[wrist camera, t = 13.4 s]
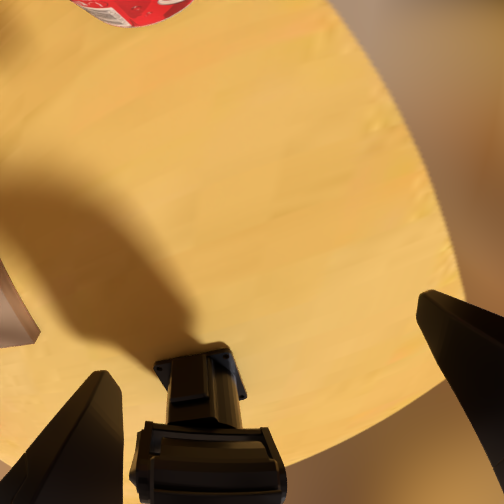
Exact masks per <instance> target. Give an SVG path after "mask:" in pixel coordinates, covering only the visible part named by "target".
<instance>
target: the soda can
mask: <svg viewBox="0 0 504 504" xmlns="http://www.w3.org/2000/svg"><path fill="white" fill-rule="evenodd" d="M70 1H72V2H73V3H75V4H76V5H78V6H79V7H81V8H83V9H84V10H86V11H87V12H89V13H90V14H92V15H93V16H95V17H96V18H98V19H99V20H101V21H103V22H105V23H107V24H110V25H113V26H117V27H123V28H133V27H144V26H149V25H153V24H156V23H159V22H162V21H164V20H166V19H169V18H171V17H172V16H174V15H176V14H177V13H179V12H181V11H182V10H184V9H185V8H186V7H188V6H189V5H190V4H191V3H192V2H193V1H194V0H70Z"/></svg>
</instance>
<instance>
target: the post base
mask: <svg viewBox="0 0 504 504" xmlns="http://www.w3.org/2000/svg"><path fill="white" fill-rule="evenodd" d="M39 334H40V330H39V328H38V327H37V325H36V324H35V322H34V320H33V319H32V317H31V315H30V314H29V312H28V310H27V309H26V307H25V305H24V304H23V302H22V300H21V298H20V296H19V295H18V293H17V291H16V289H15V287H14V285H13V283H12V282H11V280H10V278H9V276H8V274H7V272H6V270H5V268H4V266H3V264H2V261H1V259H0V348H6V347H14V346H21V345H29V344H35V342H36V340H37V338H38V336H39Z"/></svg>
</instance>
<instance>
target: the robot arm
mask: <svg viewBox="0 0 504 504" xmlns="http://www.w3.org/2000/svg"><path fill="white" fill-rule="evenodd" d="M416 319H417V323H418V325H419V327H420V329H421V331H422V333H423V335H424V337H425V339H426V341H427V343H428V345H429V347H430V350H431V352H432V354H433V356H434V358H435V360H436V362H437V364H438V366H439V367H440V369H441V371H442V373H443V374H444V376H445V378H446V379H447V381H448V383H449V384H450V386H451V388H452V390H453V391H454V393H455V395H456V397H457V398H458V400H459V402H460V404H461V406H462V407H463V409H464V411H465V413H466V415H467V417H468V419H469V421H470V422H471V424H472V426H473V428H474V430H475V432H476V434H477V436H478V438H479V440H480V442H481V444H482V446H483V448H484V450H485V452H486V454H487V456H488V458H489V461H490V463H491V465H492V467H493V470H494V472H495V474H496V476H497V479H498V481H499V483H500V486H501V488H502V490H503V493H504V317H502V316H500V315H497V314H495V313H492V312H490V311H487V310H485V309H482V308H479V307H477V306H474V305H472V304H469V303H467V302H464V301H462V300H459V299H457V298H454V297H451V296H449V295H446V294H444V293H441V292H438V291H436V290H428V291H425V292H422V293H421V294H420V295H419V299H418V306H417V313H416ZM226 354H227V355H226ZM153 369H154V371H155V373H156V374H157V376H158V377H159V379H160V381H161V382H162V384H163V386H164V387H165V389H166V390H167V392H168V394H167V410H166V424H158V423H153V422H152V421H145V427H144V430H143V429H142V430H141V431H140V432H137V441H136V449H135V454H134V458H133V461H132V465H131V468H130V472H129V480H130V481H131V482H132V483H133V484H134V485H135V486H136V489H137V493H139V499H140V502H141V503H145V504H283V502H284V501H285V498H286V493H287V477H286V471H285V467H284V464H283V462H282V459H281V457H280V455H279V452H278V450H277V448H276V445H275V443H274V441H273V438H272V436H271V433H270V431H269V429H268V427H260V429H243V427H242V420H241V413H240V405H239V401H240V400H244V399H246V398H247V392H246V389H245V387H244V384H243V381H242V379H241V376H240V373H239V370H238V367H237V365H236V362H235V359H234V356H233V353H232V351H231V350H230V349H221V350H216V351H211V352H206V353H201V354H196V355H191V356H185V357H180V358H174V359H168V360H162V361H157V362H155V363H154V367H153ZM123 449H124V432H123V412H122V392H121V389H120V387H119V386H118V385H117V383H116V382H115V380H114V379H113V378H112V376H111V375H110V373H109V372H108V371H106V370H100V371H94V372H93V373H92V374H91V375H90V376H89V377H88V378H87V379H86V380H85V382H84V383H83V384H82V385H81V386H80V387H79V388H78V390H77V391H76V392H75V393H74V394H73V395H72V397H71V398H70V399H69V400H68V401H67V402H66V404H65V405H64V406H63V407H62V408H61V409H60V411H59V412H58V413H57V414H56V415H55V417H54V418H53V419H52V420H51V421H50V422H49V424H48V425H47V426H46V427H45V428H44V430H43V431H42V432H41V433H40V434H39V436H38V437H37V438H36V439H35V441H34V442H33V443H32V444H31V445H30V447H29V448H28V449H27V450H26V453H24V454H23V455H22V456H21V458H20V459H19V460H18V461H17V463H16V464H15V465H14V466H13V467H12V469H11V470H10V471H9V472H8V473H7V474H6V475H5V477H4V478H3V479H2V480H1V481H0V504H123Z"/></svg>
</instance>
